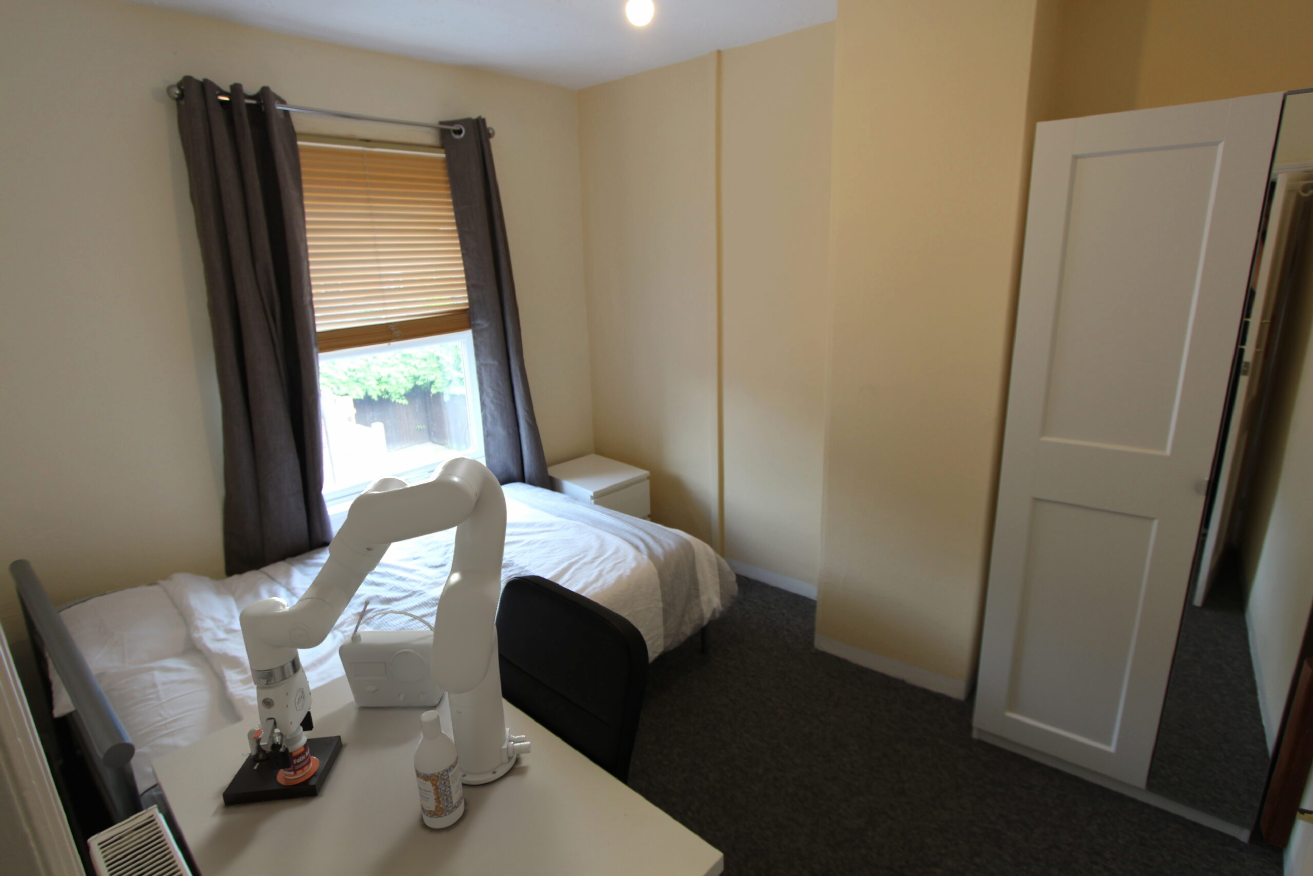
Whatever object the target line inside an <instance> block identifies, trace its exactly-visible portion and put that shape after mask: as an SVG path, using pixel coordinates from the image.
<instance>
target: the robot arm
mask: <svg viewBox="0 0 1313 876" xmlns="http://www.w3.org/2000/svg"><path fill="white" fill-rule="evenodd" d="M507 521H508V511H507V501H506V497H505V493H504V490H503V488H502V485H501V484H500V482H499V480H498V478H497V477H496V476H495V474H494V473H493V472H492V470H490V469H489V468H488V466H486V465H484V463H482V462H481V461H479V460H476V459H475V458H472V457H469V456H463V455H457V456H454V457H453V456H452V457H449V458H448V459H446V460H445V461H443V462H441V463H440V464H439V465H438V466H437V467H436V468H435V470H434V471H433V473H432V474H431V475H430V477H429V478H428V480H427V481H424V482H421V483H417V484H413V485H410V483H408V482H407V481H406V480H404V479H403V478H400V477H397V476H393V475H387V476H382V477H379V478H376V479H374V480H373V481H371V482H369V484H368V485H367V486H366V487H365V488H364V489H363V491H361V492H360V493H359V494H358V496H357V497H356V498H355V499H354V500H353V502H352V503H351V505H350V506H349V508H348V511H347V515H346V519H345V520H344V521H343V523H342V525H341V526H340V528H339V529H338V531H337V532H336V534H335V535H334V537H333V538H332V539H331V541H330V542H329V545H328V548H327V549H328V554H329V555H328V557H327V559H326V560H325V562H324V564H323V566H322V567H321V569H320V571H319V572H318V573H317V575H316V577H314V579H313V581H312V582H311V584H310V585H309V586H308V588H307V590H306V591H305V592H304V593H303V594H302V595H301V597H300V598H299V599H298V600H297V601H296V602H295V604H293V605H291V606H290V607H289V605H288V602H287V601H286V600H284V599H283V598H280V597H267V598H262V599H258V600H255V601H253V602H251V603H249V604H247V605H246V606H245V607H243V609H242V610H241V611H240V613H239V617H238V620H239V626H240V630H241V635H242V638H243V643H244V648H245V651H246V657H247V660H248V664H249V669H250V673H251V674H250V675H251V677H252V681H253V685H255V686H256V687H255V688H256V691H255V692H256V703H257V711H258V717H259V722H260V724H261V727H262V730H263V735H262V738H261V741H260V746H261V747H262V749H263V750H264V752H266V753H268V754H269V758H270V763H271V767H272V769H273V770H279V769H288V768H290V767H291V766H292V762H291V757H290V753H289V748H288V747H286V739H287V735H292V734H293V733H294V732H295V731H296V729H297V728H298V726H299V725H300V726H301V727H302V729H303V733H304V732H311V731H313V730H314V728H315V727H314V721H313V717H312V712H311V706H312V704H313V695H312V691H311V687H310V683H309V682H310V681H309V680H308V677H307V674H306V671H305V669H304V667H303V664H302V662H301V659H300V654H299V650H308V649H313V648H317V647H318V646H320V645H321V644H323V642H324V641H325V640H326V639H327V638H328V636H329V634H330V633H331V631H332V630H333V628H334V626H335V625H336V623H337V622H338V621H339V619H340V618H341V616H342V614H343V613H344V612H345V610H346V608H347V607H348V605H349V603H350V602H351V601H352V599H353V598H354V596H355V595H356V593H357V591H358V590H359V588H360V587H361V585H362V584H363V582H364V581H365V579H366V578H367V576H368V575H369V574H370V573H371V572H374V571H375V569H376V568H377V566H378V565H379V564H380V561H381V560H382V558H383V557H384V555H385V554H386V553H387V551H388V550H389V548H390V546H391V545H392V544H393V543H398V542H402V541H407V540H411V539H416V538H418V537H423V536H427V535H431V534H436V533H439V532H443V531H448V530H450V529H453V528H455V527H456V530H455V536H454V549H453V555H452V561H451V567H450V570H449V574H448V576H447V578H446V580H445V584H444V585H443V588H442V590H441V593H440V595H439V599H438V601H437V607H436V613H435V617H434V618H435V620H434V626H433V628H434V636H433V644H432V653H431V662H430V668H431V674H432V676H433V679H434V681H435V682H436V683H437V685H438V686H439V687H440V688H442V689H443V690H445V691H444V692H446V693H447V699H448V706H449V713H450V720H451V727H452V728H451V729H452V734H453V742H454V744H455V747H456V750H457V755H458V762H459V769H460V776H461V783H462V784H465V785H482V784H486V783H487V784H488V783H490V782H493V781H495V780H497V779H499V778H500V777H502V776H504V775H505V774H506V773H507V772H508V771H509V770H510V769H511V768H512V767H513V766H514V765H515V762H516V760H517V757H518V756H517V755H518V754H522V755H523V754H525V755H526V754H531V752H532V744H531V741H526V739H527V738H526V734H524V735H523V734H522V735H516V736H514V735H511V729H510V727H506V720H505V711H504V702H503V693H502V682H501V673H500V663H499V662H500V661H499V642H498V641H499V640H498V630H497V629H498V628H497V626H496V616H497V612H498V611H497V610H498V606H499V602H500V598H501V597H500V596H501V591H502V572H503V571H502V570H503V562H504V553H505V543H506V535H507V525H508V524H507V523H508V522H507ZM277 729H278V731H279V732H277V731H276V732H275V733H274V730H277ZM280 731H281V732H280ZM278 736H281V738H280V744H276V743H273V740H274V737H276V738H278Z"/></svg>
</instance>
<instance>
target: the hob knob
mask: <svg viewBox="0 0 1313 876" xmlns="http://www.w3.org/2000/svg"><path fill="white" fill-rule="evenodd" d="M275 730H276V729H275ZM275 730H274V733H276V731H275ZM262 735H263V730H262V727H261V723H260V724H258V725H255V726H254V727H252V728H251V729H250V730H248V732H247V735H246V737H247V742H248V746H249V748H250V753H251V754H252V758H253V759H254V760H256V761H261V760H265V759H268V758H269V754H268V753H266V752H264V750H263V749H262V747H261V746H260V741H261V738H262ZM277 742H278V738H277V737H274V740H273V743H276V744H277Z"/></svg>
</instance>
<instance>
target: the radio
mask: <svg viewBox="0 0 1313 876" xmlns="http://www.w3.org/2000/svg"><path fill="white" fill-rule="evenodd" d="M370 602H371V600H370V599H366V600H365V601H364V606H363V608H362V610H361V613H360V615H359V618H358V620H357V623H356V624H355V627H354V629H353V631H352V632H351V633H350V634H349V635H348V636H347V638H345V640H344V641H343V642H342V643H341V644H340V645H339V647H338V656H339V659H340V661H341V665H342V667H343V670H344V673H345V676H346V679H347V682H348V685H349V687H350V690H351V693H352V696H353V700H354V702H355V704H356V706H358V707H360V708H400V707H401V708H405V707H406V708H407V707H409V708H412V707H415V708H416V707H418V708H419V707H421V708H422V707H435V706H438V704H439V702H440V700H441V699H442V697H443V695H444V693H445V692H446V691H445V690H443V689H442V688H440V687H439V686H438V685H437V683H436V682H435V681H434V679H433V676H432V674H431V668H430V662H431V653H432V644H433V636H434V626H433V625H432V624H431V623H429V622H428V621H427V620H425V619H423V618H422V617H420V616H419V615H417V614H413V613H411V612H407V611H403V610H384V611H378V612H376V613H374V614H371V615H369V616H368V617H366V618H365V619H364V620H363V617H364V616H365V613H366V610H367V608H368V606H369V605H370ZM386 614H395V615H396V614H397V615H403V616H406V617H410V618H413V619H416V620H417V621H419V622H421V623H422V624H423V625H425V626H427V628H429V629H398V630H397V629H395V630H392V629H389V630H387V629H386V630H359V627H360V626H361V625H362V624H364V622H366V621H367V620H369V619H371V618H374V617H376V616H380V615H386Z"/></svg>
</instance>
